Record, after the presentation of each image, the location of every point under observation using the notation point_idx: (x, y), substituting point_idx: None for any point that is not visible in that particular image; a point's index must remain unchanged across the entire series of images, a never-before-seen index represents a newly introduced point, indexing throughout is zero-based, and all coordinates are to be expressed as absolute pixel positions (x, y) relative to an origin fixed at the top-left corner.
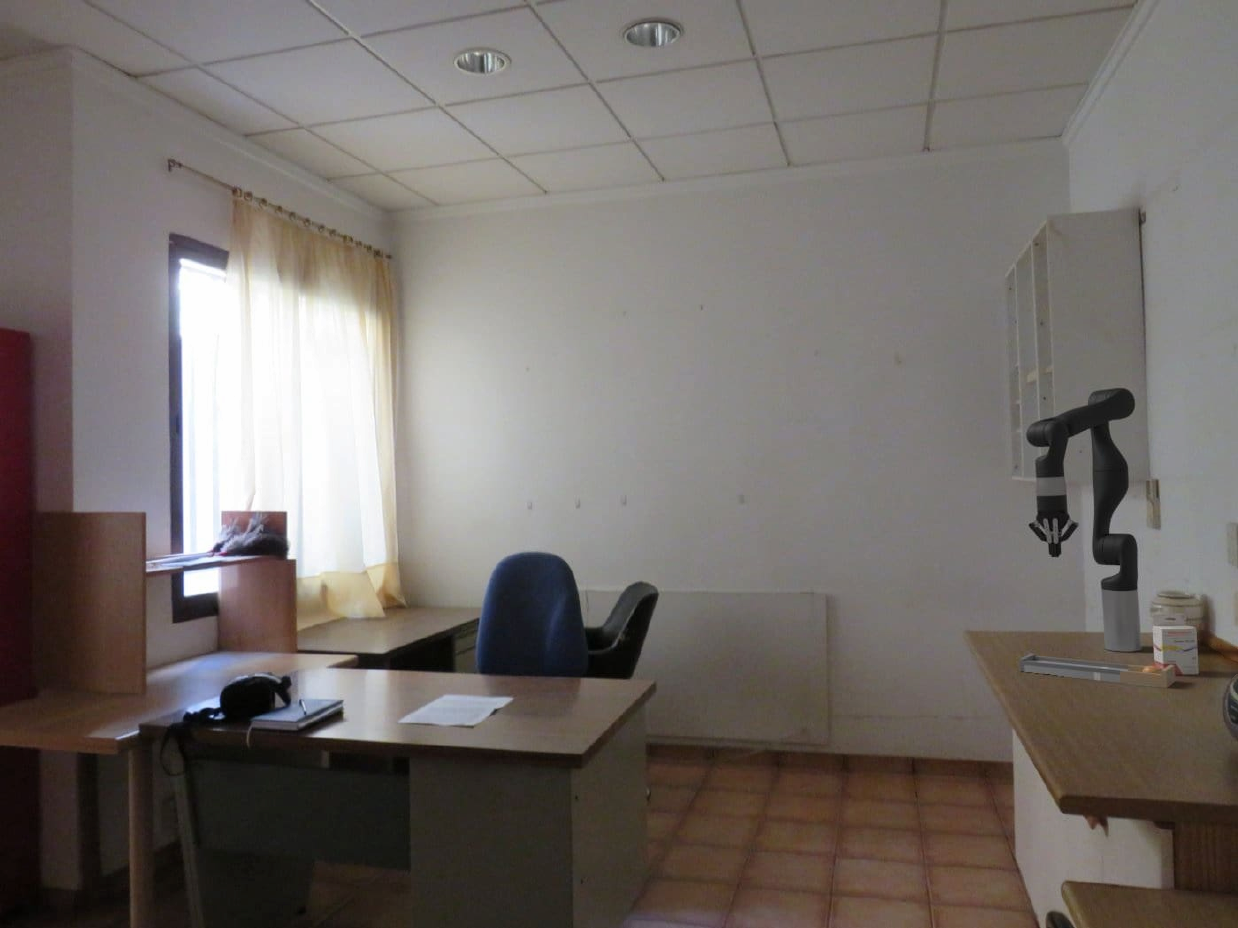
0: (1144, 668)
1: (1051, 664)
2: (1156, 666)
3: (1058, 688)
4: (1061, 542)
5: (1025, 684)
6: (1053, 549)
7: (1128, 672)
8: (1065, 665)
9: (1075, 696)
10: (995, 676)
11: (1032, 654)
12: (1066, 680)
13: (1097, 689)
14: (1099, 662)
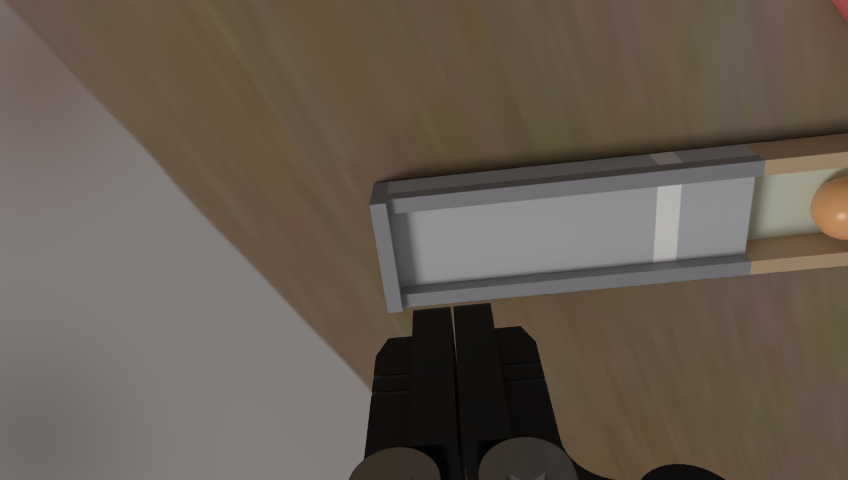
0: (835, 229)
1: (505, 296)
2: (843, 4)
3: (583, 403)
4: (581, 467)
5: None
6: (463, 460)
7: (777, 269)
8: (556, 292)
9: (652, 449)
10: (361, 375)
11: (384, 219)
12: (567, 310)
13: (684, 359)
14: (651, 184)
